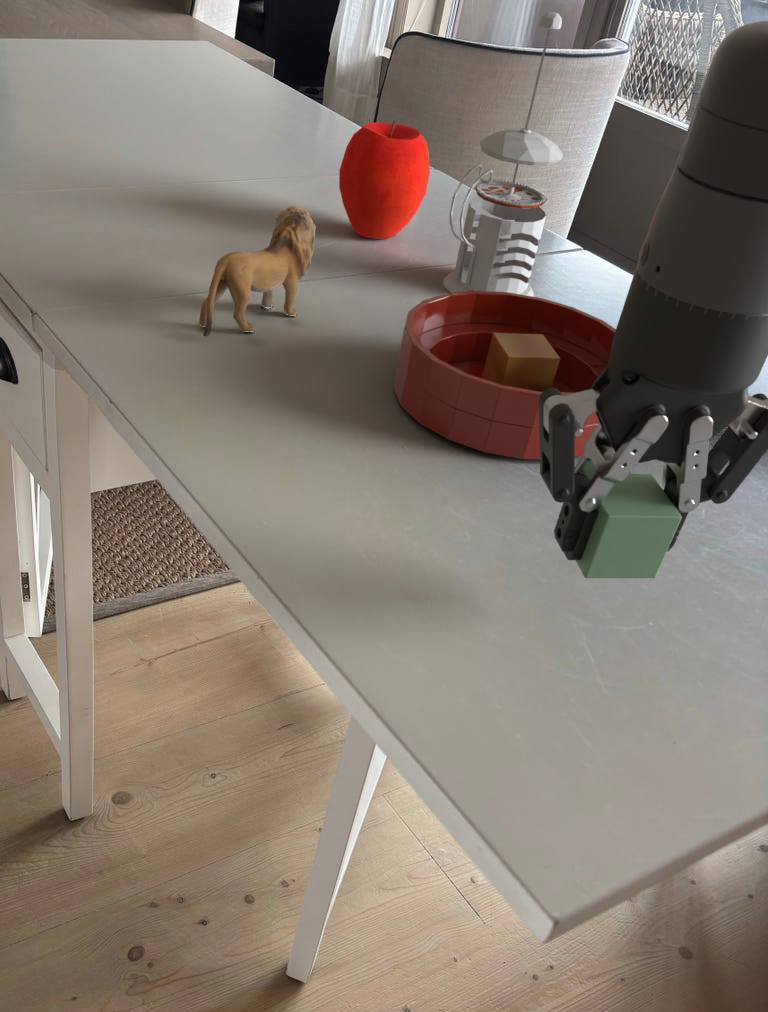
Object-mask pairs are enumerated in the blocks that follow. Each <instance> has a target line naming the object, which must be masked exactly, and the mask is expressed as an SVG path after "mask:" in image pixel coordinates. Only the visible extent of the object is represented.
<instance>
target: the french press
mask: <svg viewBox="0 0 768 1012" xmlns="http://www.w3.org/2000/svg"><path fill="white" fill-rule="evenodd" d="M562 20H563V19H562V17H561V15H560V13H558V12H555V11H548V12H546V13H545V14H544V15H542V17H541V19H540V21H539V27H542V28H544V29H547V32H546V37H545V41H544V45H543V48H542V49H543V50H542V53H541V57H540V63H539V67H538V70H537V74H536V80H535V84H534V88H533V93H532V97H531V101H530V105H529V108H528V109H529V110H528V114H527V118H526V123H525V127H523V128H508V129H504V130H499V131H496V132H494V133H492V134H490V135H488V136H486V137H484V138H483V139H482V140H480V141H479V146H480V149H481V152H482V153H483V154H485V155H486V156H488V157H491V158H493V159H495V160H498V161H502V162H506V163H511V164H516V166H515V169H514V173H513V178H512V181H509V180H507V181H506V180H502V179H501V180H500V179H498V180H497V179H496V180H493V177H494V169H487V170H485V171H484V172H483V165H482V164H479V163H477V164H476V165H475V166H473V167H472V168H470V169H469V170H468V171H466V173H465V174H464V175H463V177H462V178H461V180H460V181H459V183H458V185H457V187H456V188H455V192H454V194H453V196H452V199H451V204H450V210H449V226H450V230H451V233H452V234H453V236H454V238H456V239H457V240H458V241H459V242H460V244H459V249H458V253H457V258H456V263H455V268H454V270H452V271H451V272H450V273H448V274H447V275H446V276H445V277H444V278H443V279H442V282H443V287H444V288H445V289H446V290H447V291H448V293H455V292H464V291H493V292H509V293H515V294H521V295H527V296H533V297H536V296H535V292H534V291H533V288H532V287H531V285H530V280H529V278H530V277H531V276H532V272H533V267H532V266H534V264H535V261H536V255H535V254H536V253H537V252H538V249H539V241H538V240H541V238H542V235H543V230H544V227H545V223H546V219H547V214H546V212H545V211H544V209H543V208H542V206H544V204H545V203H546V202H547V201H548V198H547V196H546V194H545V193H544V192H543V191H542V190H540V189H538V188H535V187H534V186H530V185H528V184H526V185H525V184H522V183H519V182H516V177H517V173H518V169H519V165H525V166H550V165H555V164H556V165H557V163H559V162H560V161H561V160H562V158H563V157H564V154H563V152H562V150H561V149H560V147H559V146H558V145H557V144H556V143H555V142H553V141H551V140H550V139H549V138H547V137H546V136H544V135H543V134H541V133H539V132H537V131H532V130H530V129H529V128H528V127H529V123H530V118H531V114H532V109H533V105H534V101H535V98H536V93H537V89H538V84H539V80H540V76H541V71H542V68H543V64H544V59H545V56H546V55H545V54H546V50H547V46H548V42H549V38H550V34H551V30H560V29H561V28H562V23H563V21H562ZM477 168H479V171H478V177H477V178H476V179H475V181H474V182H473V184H472V185H471V187H469V189H468V191H467V193H466V196H465V197H464V200H463V203H462V207H461V211H460V216H459V230H460V236H459V235H457V233H456V231H455V230H454V222H453V213H454V207H455V200H456V197H457V195H458V194H459V193H458V192H459V190H460V188H461V186H462V185H463V183H464V182H465V180H466V179H467V177H468V176H469V175H470V173H472V172H473V171H475V170H476V169H477ZM482 172H483V173H482ZM489 173H490V175H489V178H488V180H486V179H484V178H483V177H485V176H486V175H488V174H489ZM479 181H480V183H479ZM474 188H475V192H476V196H475V197H473V198H472V199H470V200H469V198H470V197H471V196H470V195H471V193H472V191H473V189H474ZM468 200H469V201H468ZM467 202H468V206H467V211H466V216H465V220H464V221H463V219H464V213H465V210H466V205H467ZM474 208H478V209H482V210H484V211H485V212H487V213H488V214H490V215H491V216H488V215H487V214H483V213H480V214H479V213H476V212H477V211H476V209H474ZM493 216H494V217H493ZM496 217H497V218H496ZM463 222H464V223H463ZM474 222H478V224H477V226H474ZM472 234H475V238H471V235H472ZM508 235H510V238H504V236H508ZM501 237H503V238H501ZM469 247H470V248H472V250H468V249H469ZM505 249H507V250H505Z"/></svg>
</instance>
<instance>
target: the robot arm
mask: <svg viewBox="0 0 768 1012" xmlns="http://www.w3.org/2000/svg"><path fill="white" fill-rule="evenodd" d="M633 273H634V274H633V276H632V280H631V282H630V285H629V288H628V292H627V294H626V298H625V299H624V300H625V301H624V304H623V306H622V310H621V312H620V316H619V319H618V322H617V325H616V328H615V329H616V331H615V334H614V337H613V341H612V346H611V353H610V358H609V362H608V365H607V366H606V368H605V370H604V371H603V372H602V374H601V375H600V376H599V377H598V378H597V379H596V380H595V382H594V383H593V385H592V387H591V389H589V390H585V391H581V392H576V393H572V394H568V395H563V396H562V395H561V393H560V391H559V390H558V389H555V388H549V389H547V390H545V391H544V392H543V393H542V394H541V395H540V397H539V440H540V459H539V475H540V476H541V479H542V481H543V483H544V484H545V485H546V488H547V489H548V491H549V493H550V495H551V497H552V498H553V500H554V501H555V502H556V503H562V505H561V508H560V512H559V515H558V518H557V521H556V523H555V526H554V530H553V534H554V538H555V540H556V543H557V545H558V546H559V548H560V551H561V552H562V553H563V554H564V556H565V557H566V559H567V561H576V560H581V558H582V556H583V553H584V550H585V548H586V545H587V542H588V540H589V537H590V534H591V532H592V529H593V526H594V524H595V521H596V518H597V516H598V511H597V508H598V507H599V505H600V504H601V503H602V501H603V500H604V499H605V497H606V496H607V494H608V493H609V492H610V490H611V489H612V488H613V486H614V485H615V484H616V483H622V482H623V481H624V480H625V479H626V478H627V477H628V475H629V474H631V472H632V471H633V470H634V468H635V467H636V466H637V464H638V463H639V464H641V463H646V462H650V461H658V462H662V467H663V468H662V479H661V481H662V483H661V484H662V487H663V489H662V490H663V491H664V492H665V494H666V495H667V497H668V498H669V499H670V501H671V502H672V504H673V505H674V506H675V508H676V509H677V511H678V512H679V513H680V515H681V516H682V518H681V521H680V523H679V525H678V527H677V530H676V532H675V534H674V536H673V539H672V541H671V543H670V545H669V548H668V550H667V552H666V553H668V552H669V551H671V549H672V548H673V547H674V546H675V544H676V542H677V541H678V537H679V536H680V533H681V531H682V529H683V526H684V524H685V521H686V520H687V517H688V514H689V513H691V512H693V511H694V510H696V509H697V508H698V507H699V505H700V504H701V503H704V502H705V503H706V502H708V501H712V502H713V504H716V505H719V504H720V505H721V504H724V503H726V502H727V501H728V500H730V498H731V497H732V496H733V495H734V494H735V492H736V491H737V489H739V488H740V486H741V484H742V483H743V482H744V481H745V479H746V478H747V477H748V475H749V474H750V473H751V472H752V470H753V469H754V468H755V467H756V465H757V464H758V463H759V462H760V460H761V459H762V458H763V457H764V455H765V454H766V453H767V451H768V397H767V395H765V393H760V392H759V393H755V394H752V395H749V390H748V389H749V387H751V386H752V385H753V384H754V383H755V382H757V380H758V378H759V376H760V374H761V372H762V369H763V367H764V365H765V363H766V360H767V359H768V20H761V21H755V22H751V23H747V24H743V25H741V26H739V27H737V28H735V29H734V30H732V31H731V32H730V33H728V34H727V35H726V36H725V37H724V38H723V39H722V41H721V43H720V44H719V46H718V48H717V49H716V51H715V52H714V55H713V56H712V58H711V61H710V64H709V66H708V68H707V70H706V73H705V76H704V79H703V81H702V85H701V88H700V90H699V94H698V97H697V100H696V103H695V106H694V110H693V113H692V115H691V119H690V122H689V124H688V127H687V130H686V133H685V136H684V139H683V143H682V146H681V149H680V150H679V154H678V158H677V162H676V164H675V166H674V169H673V171H672V173H671V176H670V179H669V180H668V183H667V185H666V187H665V189H664V191H663V193H662V195H661V197H660V199H659V201H658V203H657V206H656V208H655V211H654V214H653V216H652V219H651V222H650V226H649V228H648V230H647V234H646V236H645V240H644V241H643V243H642V245H641V247H640V250H639V254H638V261H637V264H636V267H635V271H634V272H633ZM595 412H596V415H597V417H598V419H599V424H598V425H597V427H596V428H595V429H594V431H593V432H592V434H591V435H590V437H589V438H588V440H587V441H586V443H585V446H584V454H583V455H582V456H581V457H580V459H579V460H578V462H577V463H576V457H575V437H579V436H581V435H582V434H583V429H584V427H585V422H586V420H587V418H588V417H589V416H590V415H591V414H593V413H595ZM724 429H725V430H724ZM723 430H724V431H723ZM722 431H723V432H722ZM721 432H722V434H721V435H720V436H719V438H718V439H717V441H716V442H715V444H714V445H713V446H712V448H710V441H711V440H712V439H713V438H714V437H716V436H717V435H718V434H720V433H721ZM709 449H710V450H709ZM613 451H614V452H615V453H614V452H613ZM723 469H724V470H723Z"/></svg>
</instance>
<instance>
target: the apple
mask: <svg viewBox="0 0 768 1012" xmlns="http://www.w3.org/2000/svg"><path fill="white" fill-rule="evenodd" d="M430 175H431V166H430V155H429V148H428V143H427V140H426V139H425V137H424V136H423V135H422V134H421V132H420V131H419V130H418V129H416V128H414V127H412V126H409V125H406V124H399V123H398V124H397V121H396V120H393V122H392V123H387V122H370V123H366V124H365V125H363V126H362V127H361V128H359V129H358V130H357V131H356V132H354V133H353V135H352V136H351V138H350V140H349V141H348V143H347V145H346V148H345V150H344V154H343V157H342V160H341V164H340V166H339V177H338V179H339V182H338V183H339V184H338V188H339V192H340V196H341V200H342V204H343V207H344V210H345V213H346V215H347V218H348V220H349V223H350V225H351V228H352V229H353V230H354V232H355V233H356V234H357V235H358V236H360V237H362V238H367V239H377V240H388V239H392V238H394V237H395V236H397V235H398V234H399V233H400V232H401V231H402V230H404V228H406V226H407V225H408V224H409V223H411V220H412V219H413V218H414V216H415V215H416V213H417V212H418V211H419V208H420V207H421V204H422V203H423V201H424V199H425V196H426V194H427V189H428V185H429V181H430Z"/></svg>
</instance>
